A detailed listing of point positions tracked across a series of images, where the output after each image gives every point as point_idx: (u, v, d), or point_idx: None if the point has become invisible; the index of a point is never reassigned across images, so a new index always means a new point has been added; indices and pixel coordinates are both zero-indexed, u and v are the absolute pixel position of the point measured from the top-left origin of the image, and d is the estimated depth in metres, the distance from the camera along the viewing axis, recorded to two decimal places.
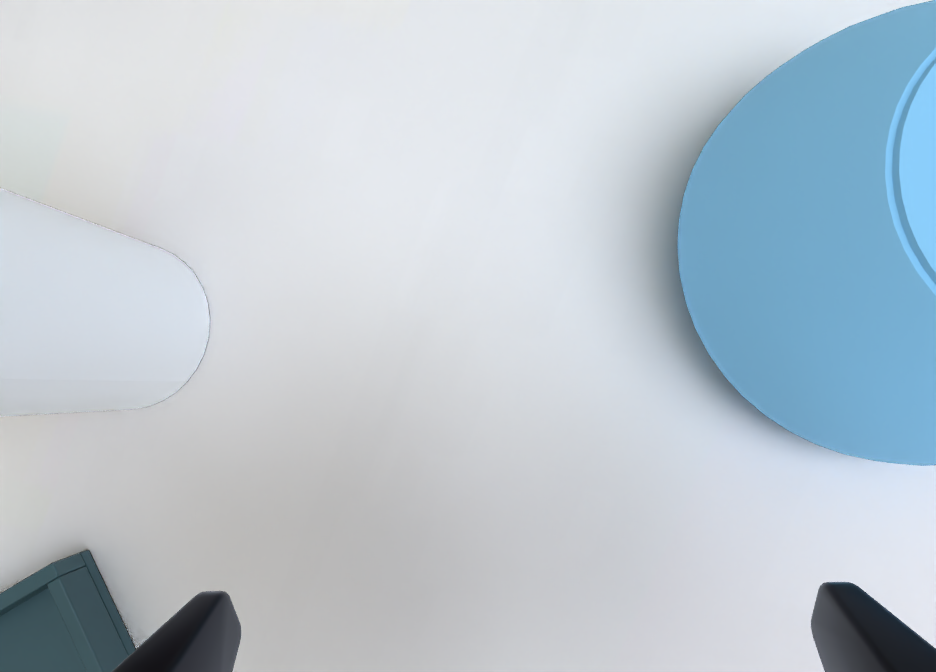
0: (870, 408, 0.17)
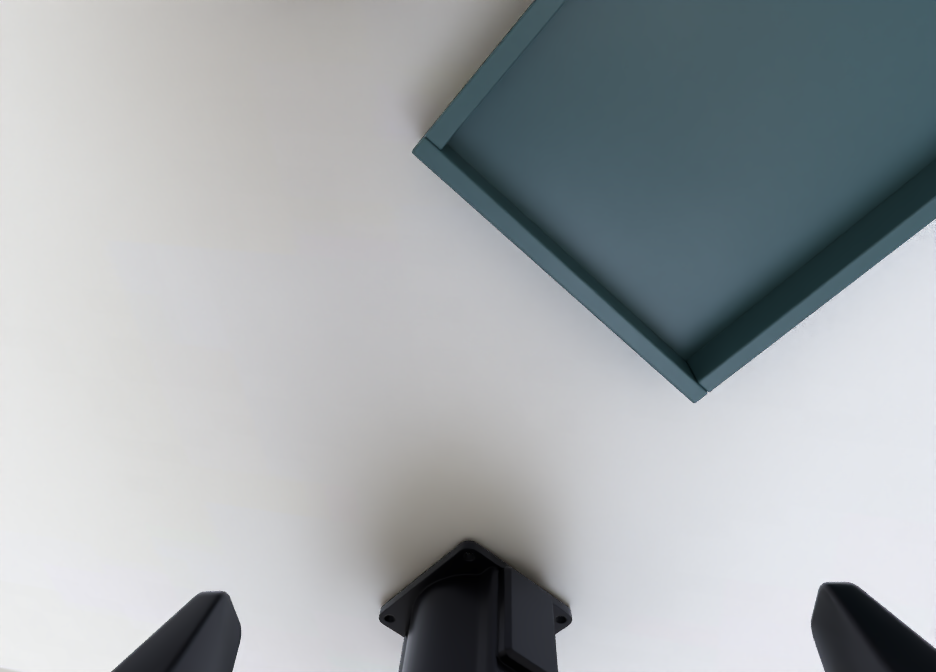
0: None
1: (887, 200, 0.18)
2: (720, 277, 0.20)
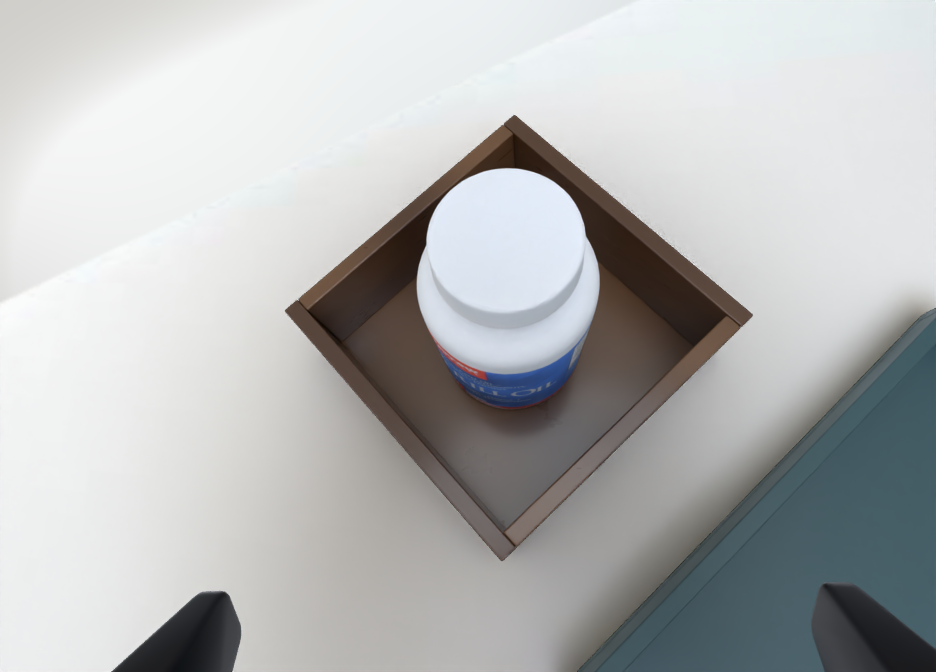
0: None
1: None
2: None
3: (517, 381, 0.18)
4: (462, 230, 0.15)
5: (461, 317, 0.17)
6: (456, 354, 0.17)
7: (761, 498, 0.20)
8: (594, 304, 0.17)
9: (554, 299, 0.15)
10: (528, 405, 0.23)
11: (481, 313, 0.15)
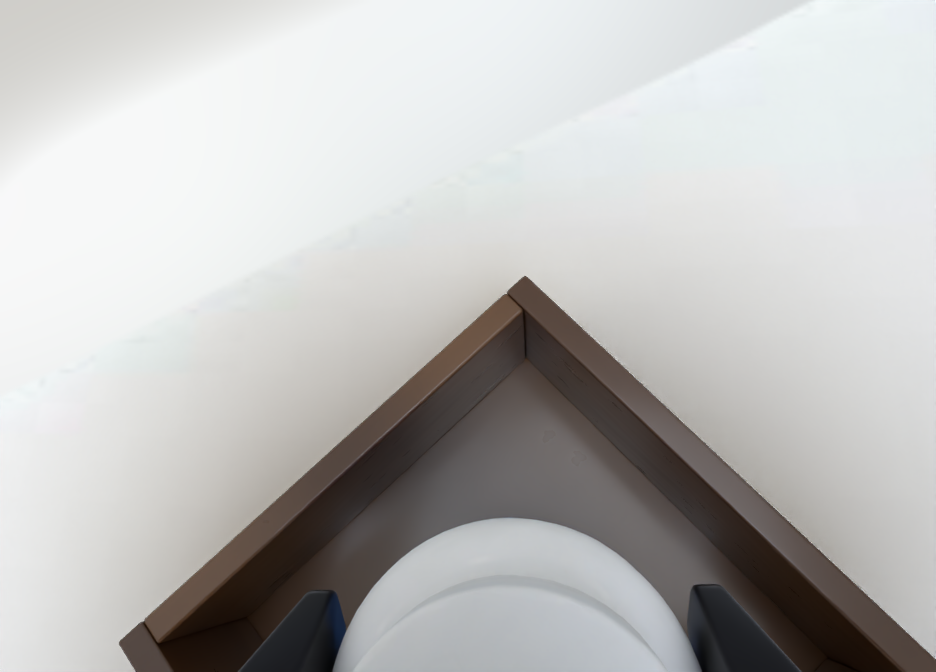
0: None
1: None
2: None
3: None
4: None
5: None
6: None
7: None
8: None
9: None
10: None
11: None
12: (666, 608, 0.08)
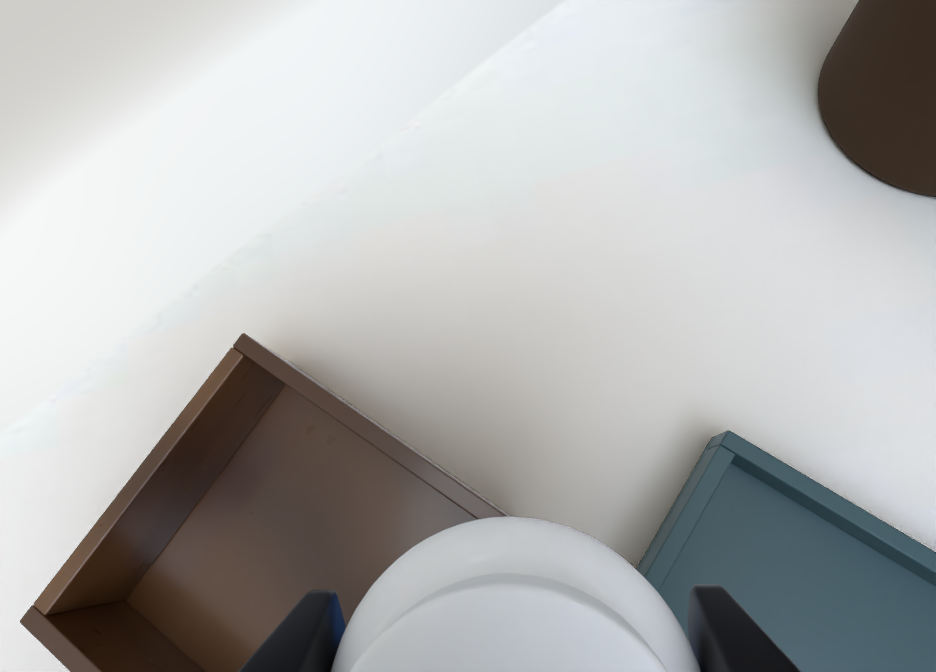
0: None
1: None
2: None
3: None
4: None
5: None
6: None
7: None
8: None
9: None
10: None
11: None
12: (664, 606, 0.08)
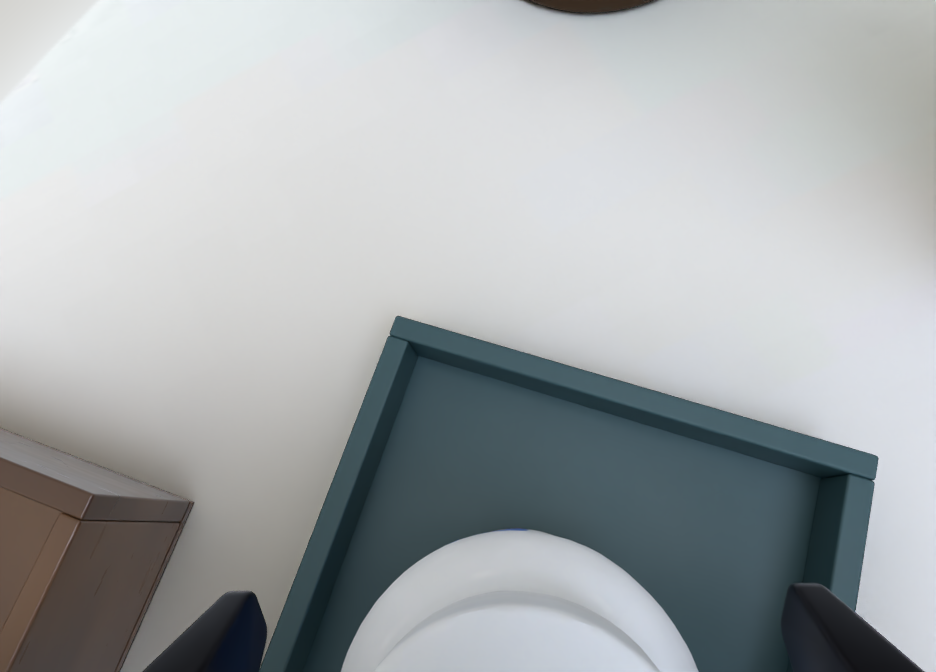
0: None
1: None
2: None
3: None
4: None
5: None
6: None
7: None
8: None
9: None
10: None
11: None
12: (667, 620, 0.09)
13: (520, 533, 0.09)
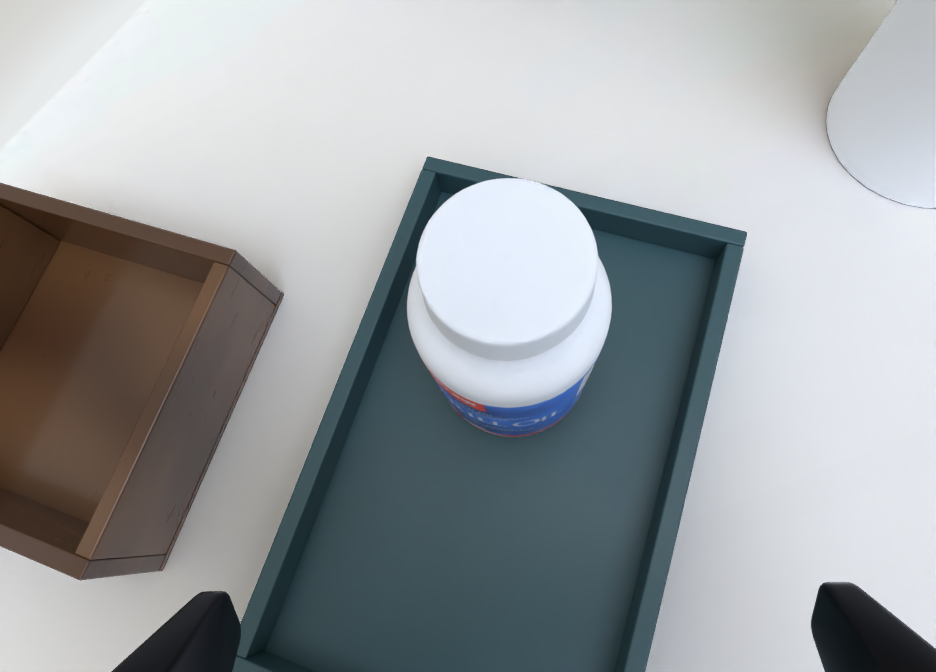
0: None
1: (648, 535, 0.20)
2: (560, 670, 0.19)
3: (520, 413, 0.17)
4: (457, 249, 0.13)
5: (457, 345, 0.15)
6: (452, 386, 0.15)
7: (330, 399, 0.21)
8: (606, 329, 0.15)
9: (563, 329, 0.13)
10: (531, 433, 0.21)
11: (479, 345, 0.13)
12: None
13: None
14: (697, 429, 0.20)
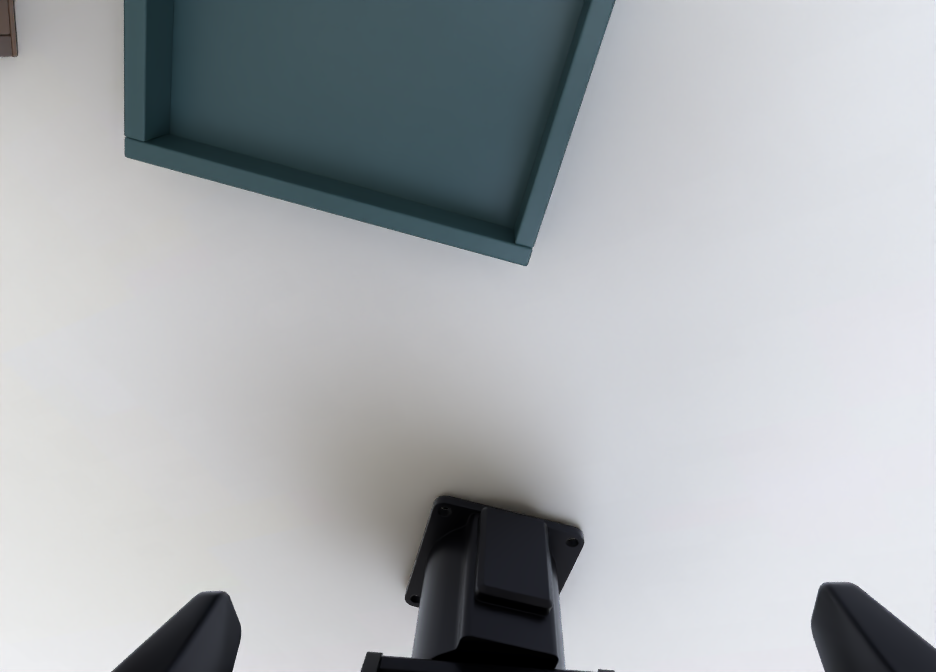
0: None
1: None
2: (489, 128, 0.18)
3: None
4: None
5: None
6: None
7: None
8: None
9: None
10: None
11: None
12: None
13: None
14: None
